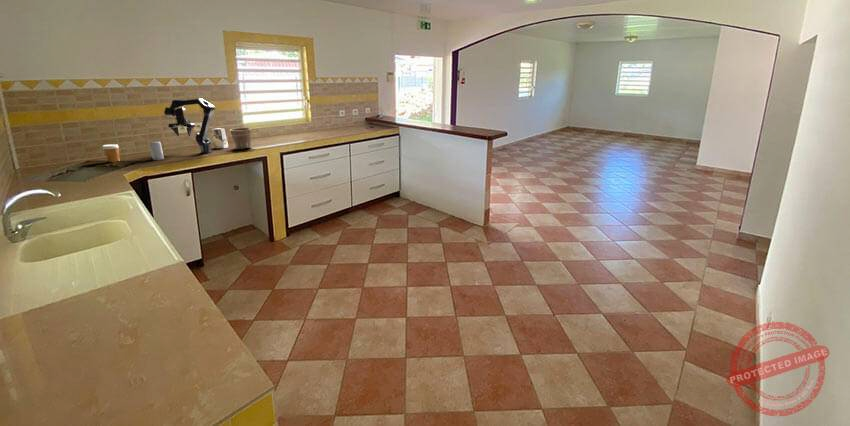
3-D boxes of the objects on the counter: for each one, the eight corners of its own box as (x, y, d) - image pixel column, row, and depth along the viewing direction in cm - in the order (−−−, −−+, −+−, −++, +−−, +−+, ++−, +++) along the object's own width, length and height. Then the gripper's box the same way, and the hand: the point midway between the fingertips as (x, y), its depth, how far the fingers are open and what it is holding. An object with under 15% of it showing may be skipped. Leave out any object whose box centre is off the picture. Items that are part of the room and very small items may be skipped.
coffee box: (228, 147, 348) (225, 128, 342) (224, 148, 342) (220, 129, 336) (219, 146, 349) (215, 128, 344) (214, 148, 343) (211, 129, 338)
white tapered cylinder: (166, 158, 303) (162, 141, 299) (159, 160, 297) (156, 143, 293) (157, 158, 304) (153, 141, 300) (150, 159, 297) (146, 143, 293)
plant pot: (244, 150, 333) (241, 130, 327) (228, 149, 337) (225, 129, 332) (257, 147, 347) (254, 128, 342) (242, 146, 352) (239, 127, 347)
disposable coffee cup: (125, 160, 295) (121, 144, 291) (112, 163, 287) (107, 146, 283) (116, 159, 298) (112, 143, 294) (103, 162, 289) (98, 145, 286)
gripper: (197, 115, 322) (201, 134, 327) (175, 115, 323) (179, 134, 328) (189, 116, 312) (193, 137, 317) (165, 116, 313) (170, 136, 318)
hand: (184, 136), depth 320 cm, fingers open, 9 cm apart
